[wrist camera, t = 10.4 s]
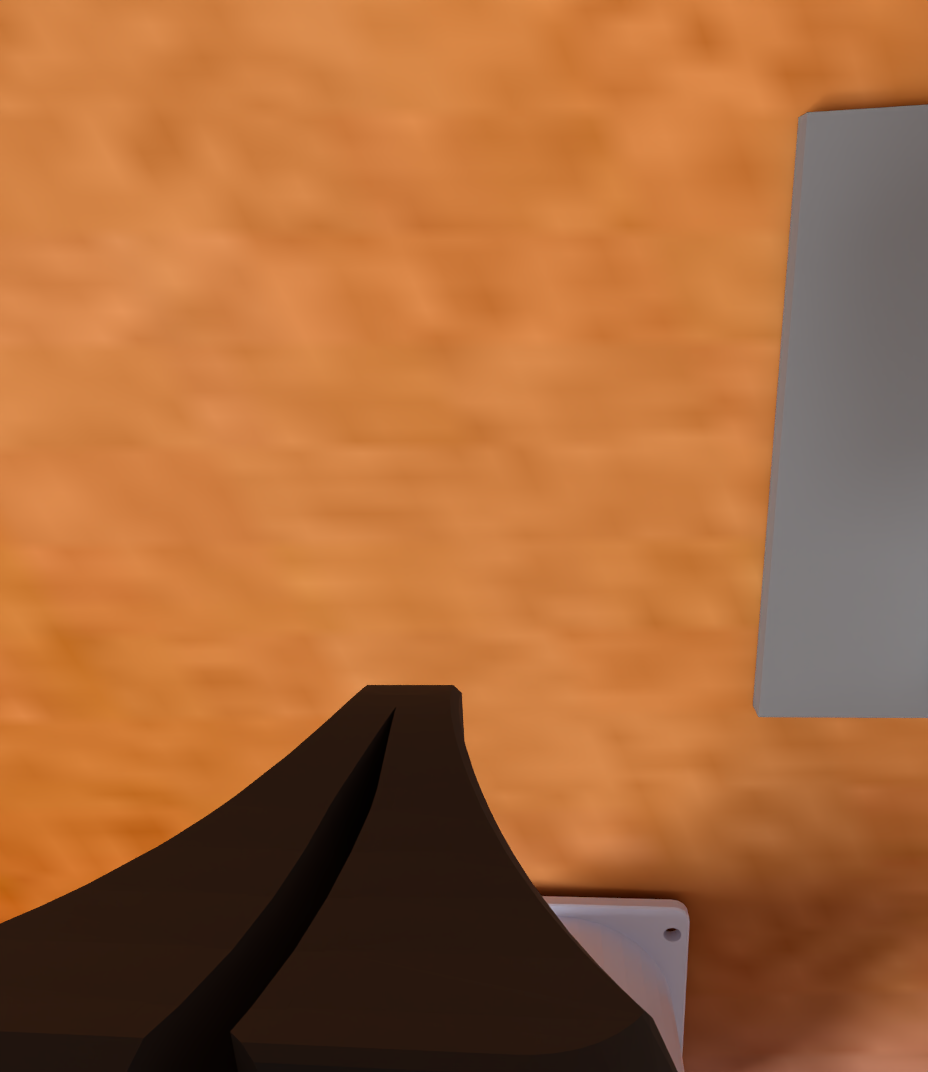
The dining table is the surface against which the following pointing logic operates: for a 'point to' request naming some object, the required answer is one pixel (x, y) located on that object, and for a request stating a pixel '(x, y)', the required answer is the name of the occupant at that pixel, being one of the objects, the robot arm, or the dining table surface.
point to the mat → (851, 428)
